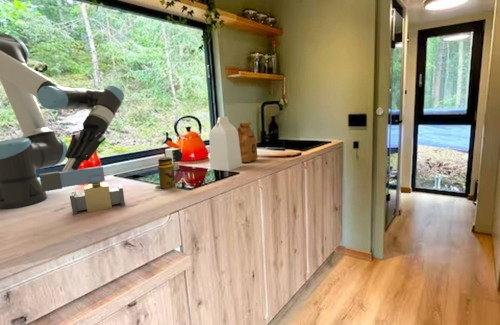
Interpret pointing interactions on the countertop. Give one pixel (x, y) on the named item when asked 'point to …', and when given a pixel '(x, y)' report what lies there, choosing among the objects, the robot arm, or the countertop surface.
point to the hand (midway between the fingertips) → (65, 177)
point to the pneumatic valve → (174, 156)
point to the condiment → (166, 174)
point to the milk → (224, 146)
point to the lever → (71, 178)
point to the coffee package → (247, 143)
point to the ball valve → (97, 197)
